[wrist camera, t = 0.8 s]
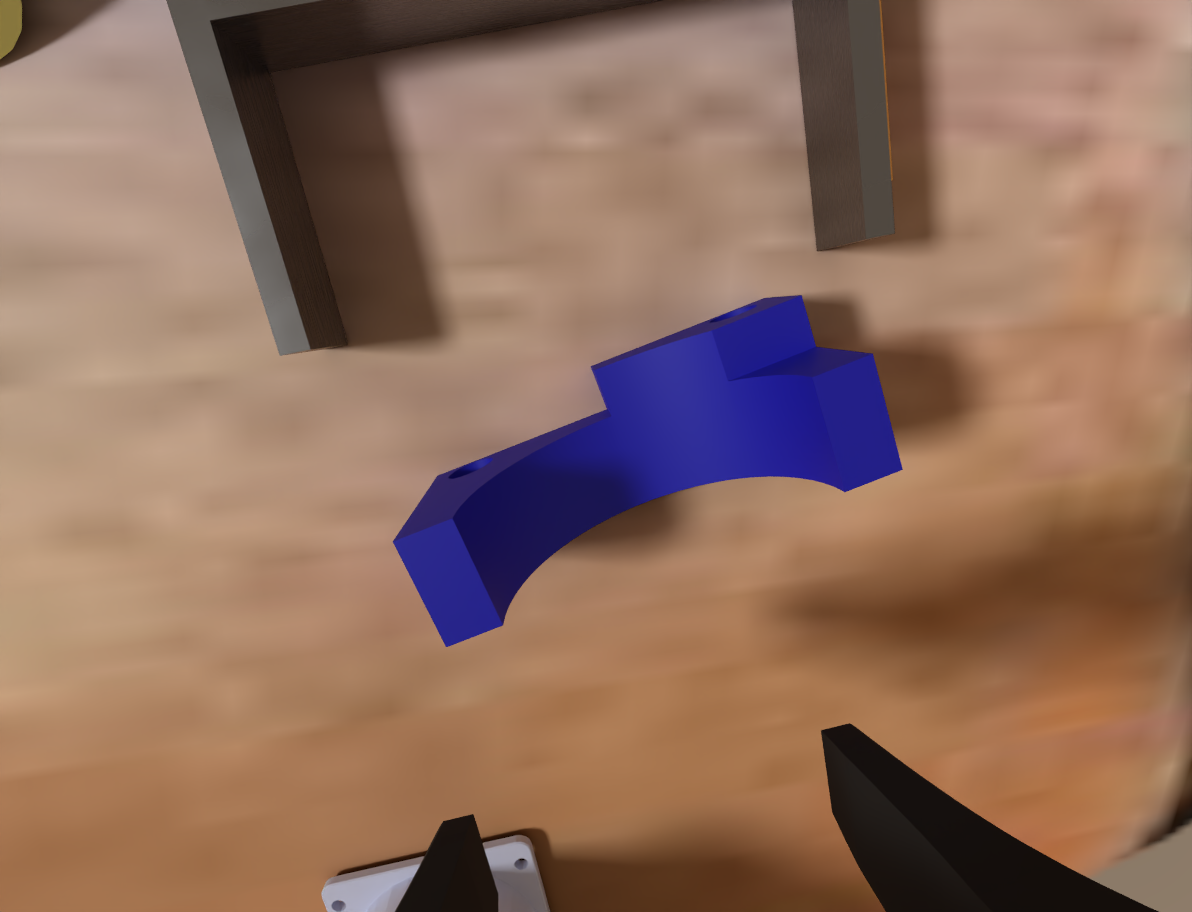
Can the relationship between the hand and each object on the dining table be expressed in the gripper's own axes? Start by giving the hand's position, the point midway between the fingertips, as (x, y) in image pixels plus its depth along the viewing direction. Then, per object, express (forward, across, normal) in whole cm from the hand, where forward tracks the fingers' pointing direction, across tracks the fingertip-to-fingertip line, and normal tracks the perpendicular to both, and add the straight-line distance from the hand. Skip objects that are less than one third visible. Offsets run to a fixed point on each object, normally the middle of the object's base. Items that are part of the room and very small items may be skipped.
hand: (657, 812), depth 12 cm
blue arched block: (+10, -1, -6) cm, 12 cm away
